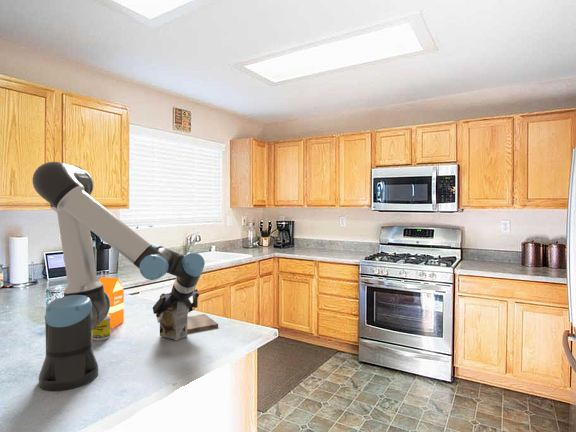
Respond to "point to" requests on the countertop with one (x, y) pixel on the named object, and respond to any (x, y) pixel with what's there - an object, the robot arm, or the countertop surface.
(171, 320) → the coffee box
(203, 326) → the walnut board
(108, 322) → the pill bottle
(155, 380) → the countertop surface
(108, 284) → the orange juice
